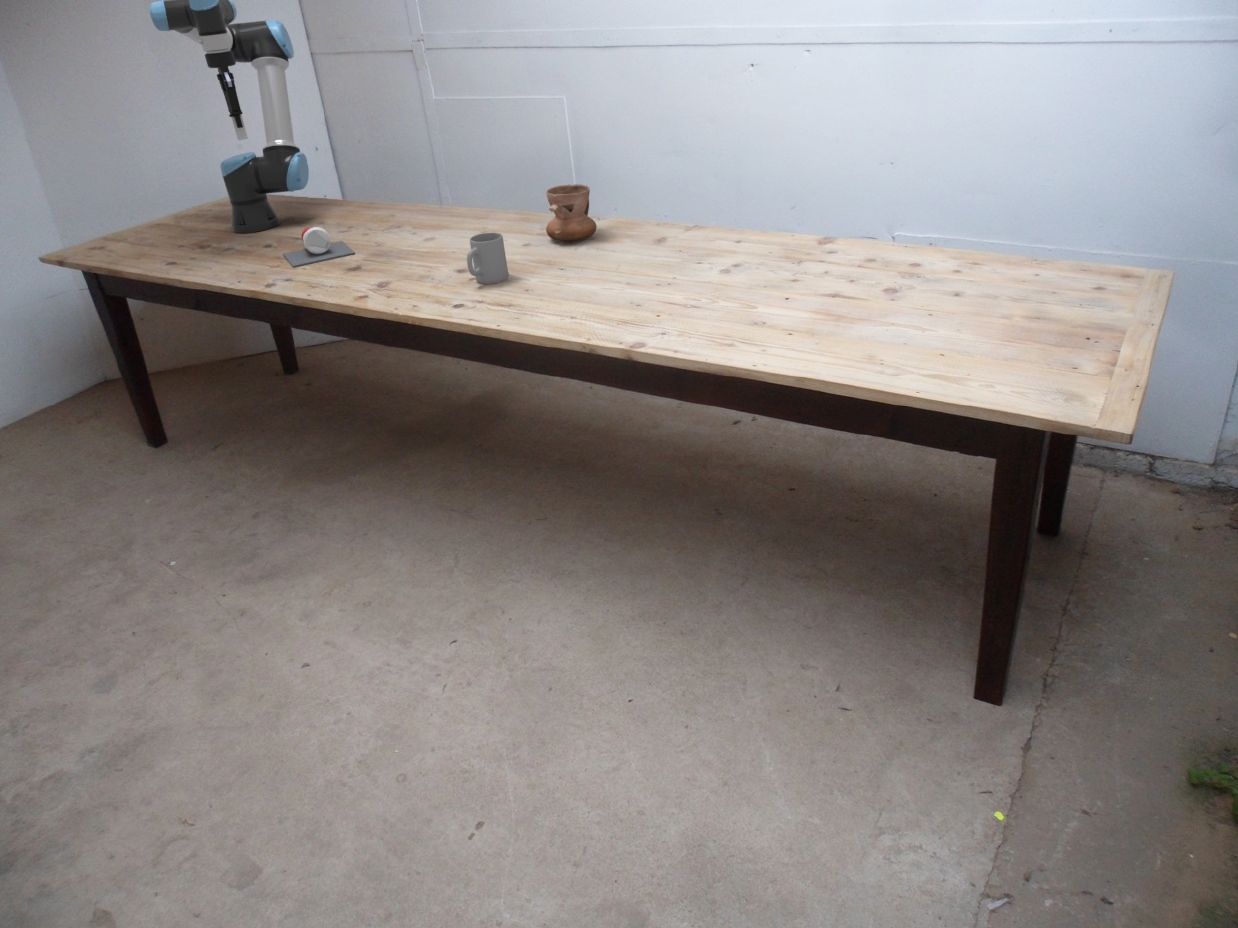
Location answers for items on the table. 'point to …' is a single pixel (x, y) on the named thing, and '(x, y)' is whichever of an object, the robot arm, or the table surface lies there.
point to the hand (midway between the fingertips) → (242, 139)
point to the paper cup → (316, 239)
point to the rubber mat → (308, 257)
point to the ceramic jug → (570, 213)
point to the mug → (487, 258)
